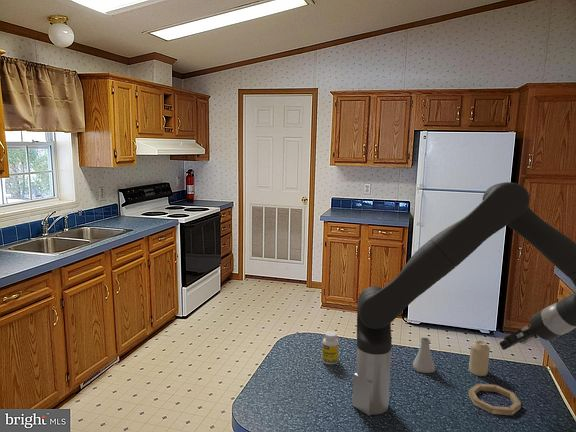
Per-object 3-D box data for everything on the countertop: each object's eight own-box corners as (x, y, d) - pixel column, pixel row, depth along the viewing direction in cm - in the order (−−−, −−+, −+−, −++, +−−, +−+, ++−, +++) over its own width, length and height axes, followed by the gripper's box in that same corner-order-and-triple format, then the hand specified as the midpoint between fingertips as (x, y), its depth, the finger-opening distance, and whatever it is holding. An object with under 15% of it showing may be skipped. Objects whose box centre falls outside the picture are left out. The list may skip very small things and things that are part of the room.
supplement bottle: (320, 363, 140) (320, 335, 139) (323, 355, 146) (324, 329, 144) (336, 366, 139) (337, 337, 137) (339, 358, 144) (340, 331, 142)
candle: (471, 365, 140) (474, 337, 138) (489, 371, 136) (492, 341, 135) (466, 372, 136) (468, 342, 134) (484, 378, 132) (487, 348, 131)
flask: (438, 374, 134) (440, 344, 133) (415, 373, 134) (417, 344, 133) (431, 362, 142) (433, 334, 140) (409, 362, 142) (411, 334, 140)
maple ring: (505, 420, 112) (506, 415, 111) (461, 398, 121) (462, 393, 121) (526, 403, 119) (527, 398, 119) (483, 384, 129) (483, 379, 128)
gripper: (562, 303, 117) (520, 327, 129) (528, 312, 111) (487, 335, 123) (579, 329, 114) (534, 351, 126) (546, 339, 107) (502, 361, 119)
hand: (511, 343), depth 124 cm, fingers open, 8 cm apart
